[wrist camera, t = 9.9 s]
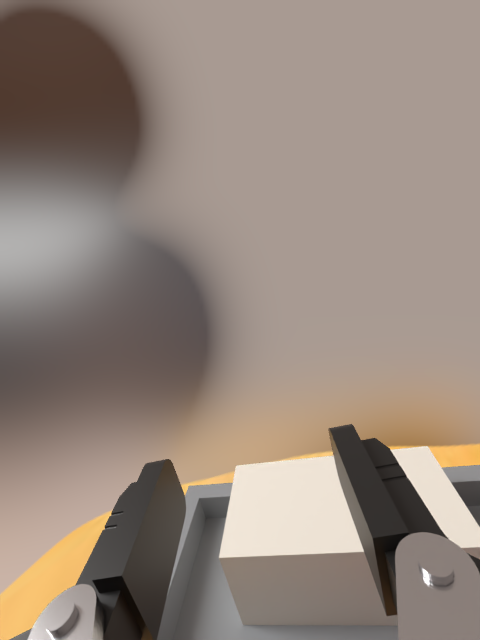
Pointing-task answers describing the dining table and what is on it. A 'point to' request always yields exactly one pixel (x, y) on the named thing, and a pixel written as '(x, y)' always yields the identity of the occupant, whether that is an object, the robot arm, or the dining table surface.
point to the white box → (318, 541)
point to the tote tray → (212, 587)
